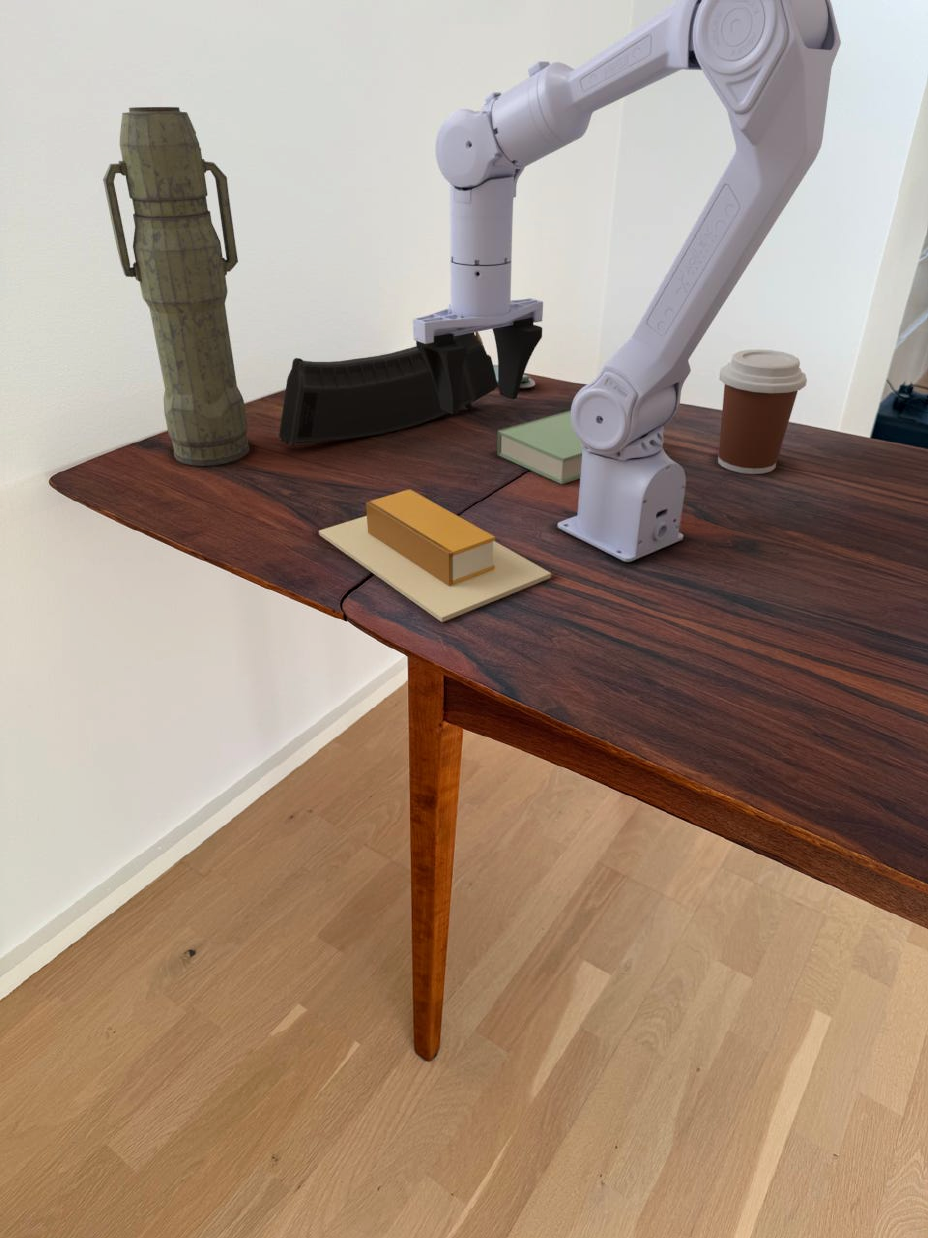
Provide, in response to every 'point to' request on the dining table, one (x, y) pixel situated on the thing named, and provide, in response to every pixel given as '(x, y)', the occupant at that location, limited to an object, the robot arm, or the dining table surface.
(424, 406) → the magazine
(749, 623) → the dining table surface
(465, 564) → the pocket book
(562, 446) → the hardback
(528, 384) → the pacifier
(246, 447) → the green canister
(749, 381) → the coffee cup (beverage)
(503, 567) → the mat
